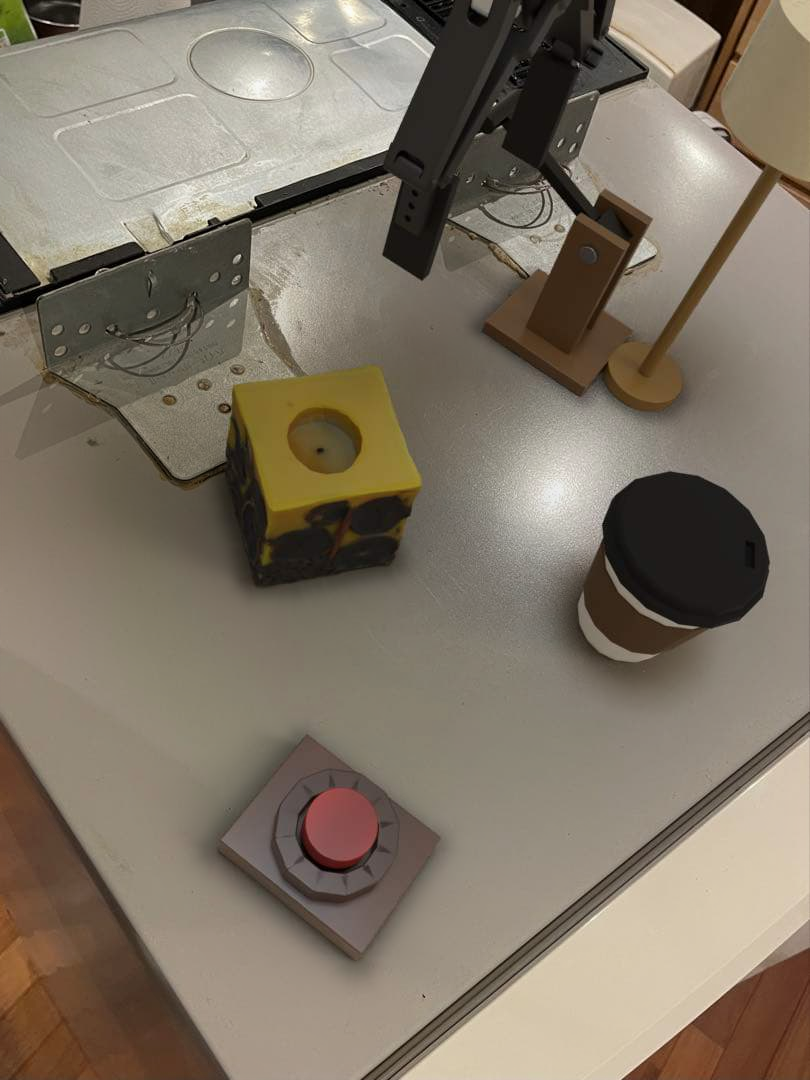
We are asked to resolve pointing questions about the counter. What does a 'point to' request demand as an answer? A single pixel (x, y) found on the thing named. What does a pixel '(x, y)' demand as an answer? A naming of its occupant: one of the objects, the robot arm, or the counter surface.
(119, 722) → the counter surface
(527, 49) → the robot arm
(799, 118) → the lamp
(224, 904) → the counter surface
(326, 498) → the candle
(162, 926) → the counter surface
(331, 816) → the button
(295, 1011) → the counter surface
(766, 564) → the coffee cup
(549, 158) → the black t-shaped bar
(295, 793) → the switch block
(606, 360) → the lever bracket
